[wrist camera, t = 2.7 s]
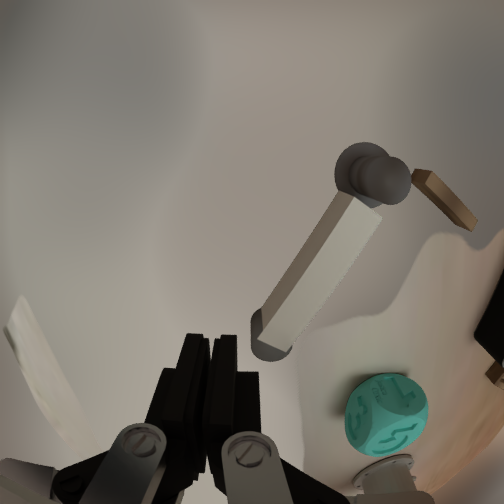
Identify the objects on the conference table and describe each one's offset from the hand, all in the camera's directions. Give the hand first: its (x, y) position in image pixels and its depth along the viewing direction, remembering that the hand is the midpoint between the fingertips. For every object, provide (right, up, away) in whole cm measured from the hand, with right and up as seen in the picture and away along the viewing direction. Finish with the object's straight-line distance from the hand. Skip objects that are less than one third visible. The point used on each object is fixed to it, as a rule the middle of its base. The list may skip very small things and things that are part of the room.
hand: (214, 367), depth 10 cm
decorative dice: (+18, -15, +23) cm, 32 cm away
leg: (+6, +2, +17) cm, 18 cm away
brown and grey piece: (+16, +9, +15) cm, 24 cm away
